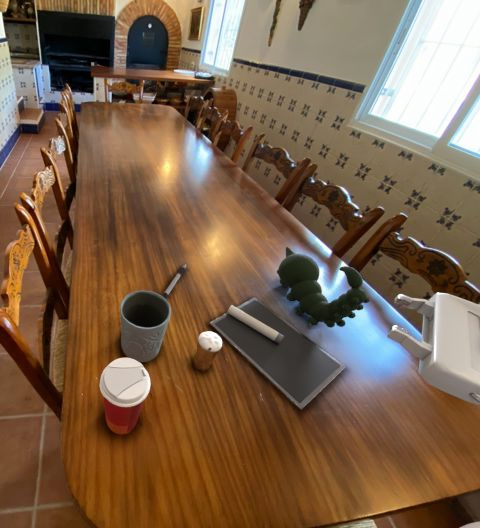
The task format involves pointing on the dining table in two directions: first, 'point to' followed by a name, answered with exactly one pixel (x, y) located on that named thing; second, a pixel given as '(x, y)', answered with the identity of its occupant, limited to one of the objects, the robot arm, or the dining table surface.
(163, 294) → the pen
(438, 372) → the robot arm
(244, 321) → the white cylindrical rod
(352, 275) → the toy figurine
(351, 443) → the dining table surface
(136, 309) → the grey embossed cup
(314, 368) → the tablet
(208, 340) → the milkshake
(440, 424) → the dining table surface
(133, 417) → the paper cup
